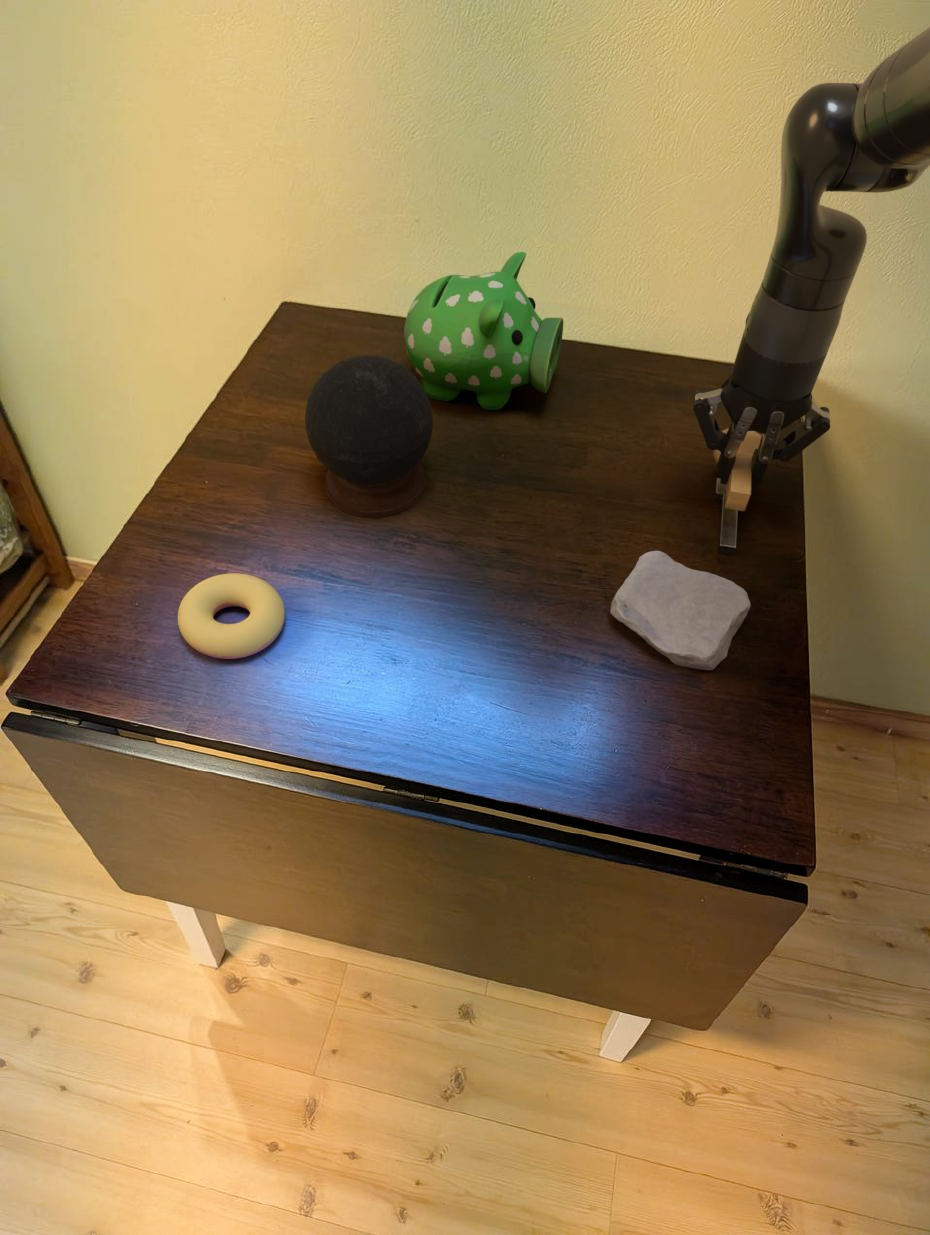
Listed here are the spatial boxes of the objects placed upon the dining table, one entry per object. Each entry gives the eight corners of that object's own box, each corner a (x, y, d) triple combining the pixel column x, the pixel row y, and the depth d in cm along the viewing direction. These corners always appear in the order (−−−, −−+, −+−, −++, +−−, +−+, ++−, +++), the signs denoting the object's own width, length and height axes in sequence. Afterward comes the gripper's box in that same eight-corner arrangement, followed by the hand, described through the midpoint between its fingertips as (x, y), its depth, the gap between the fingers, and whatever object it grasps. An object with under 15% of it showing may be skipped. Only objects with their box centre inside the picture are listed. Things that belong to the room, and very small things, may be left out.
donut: (253, 687, 79) (305, 610, 83) (246, 667, 75) (301, 587, 79) (162, 641, 80) (218, 568, 85) (151, 619, 76) (210, 543, 80)
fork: (740, 557, 87) (743, 549, 86) (709, 551, 88) (712, 543, 87) (744, 467, 96) (747, 459, 95) (716, 462, 97) (718, 454, 96)
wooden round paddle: (760, 514, 86) (767, 496, 84) (708, 505, 86) (714, 488, 85) (762, 445, 93) (768, 428, 91) (714, 438, 93) (719, 420, 91)
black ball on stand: (430, 526, 90) (426, 411, 78) (307, 522, 90) (285, 406, 78) (438, 446, 98) (435, 331, 86) (325, 442, 98) (307, 327, 87)
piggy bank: (538, 435, 99) (549, 321, 88) (392, 409, 102) (384, 294, 91) (561, 367, 108) (574, 254, 96) (425, 344, 111) (422, 232, 99)
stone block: (709, 692, 79) (752, 610, 82) (715, 669, 75) (760, 584, 78) (595, 639, 83) (641, 564, 87) (595, 615, 79) (643, 537, 83)
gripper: (706, 348, 74) (667, 494, 88) (869, 371, 72) (803, 516, 86) (711, 303, 79) (673, 448, 92) (864, 323, 77) (802, 469, 90)
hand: (736, 480), depth 89 cm, fingers closed on wooden round paddle, 2 cm apart
